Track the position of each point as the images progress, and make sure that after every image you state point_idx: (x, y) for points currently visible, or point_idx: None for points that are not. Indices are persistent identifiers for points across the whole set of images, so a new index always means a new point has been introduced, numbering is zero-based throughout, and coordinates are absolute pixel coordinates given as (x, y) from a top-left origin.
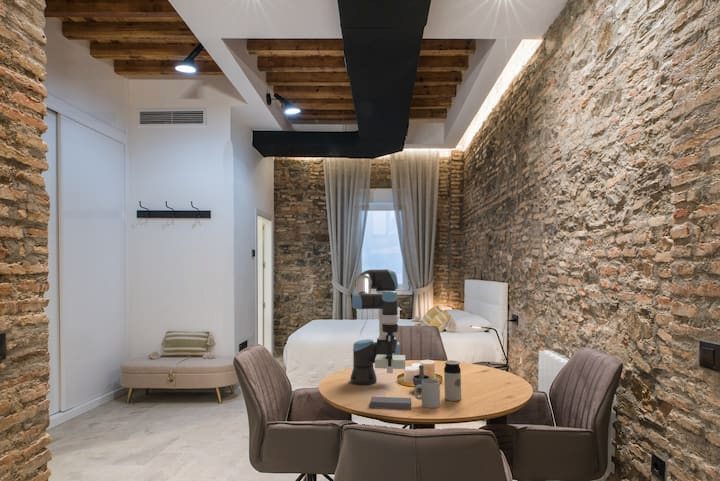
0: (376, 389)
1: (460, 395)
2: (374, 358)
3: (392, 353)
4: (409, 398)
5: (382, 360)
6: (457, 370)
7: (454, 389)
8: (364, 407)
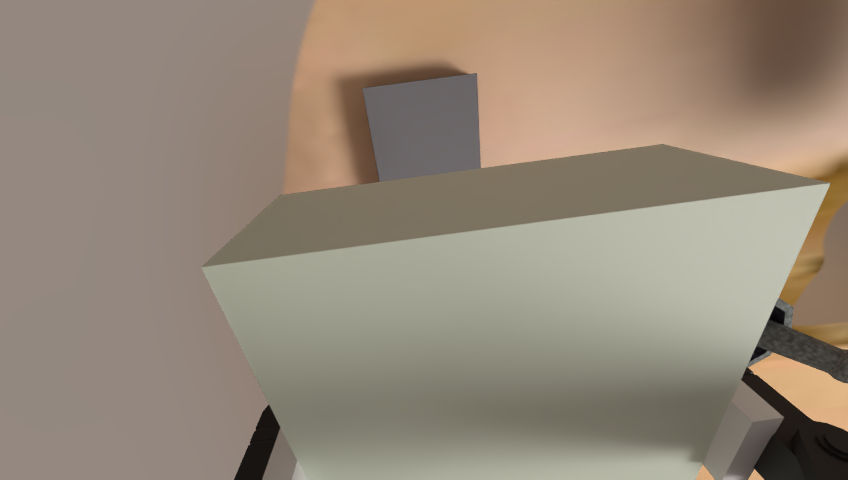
0: (738, 43)
1: None
2: None
3: (740, 469)
4: None
5: (274, 392)
6: None
7: None
8: (355, 48)
